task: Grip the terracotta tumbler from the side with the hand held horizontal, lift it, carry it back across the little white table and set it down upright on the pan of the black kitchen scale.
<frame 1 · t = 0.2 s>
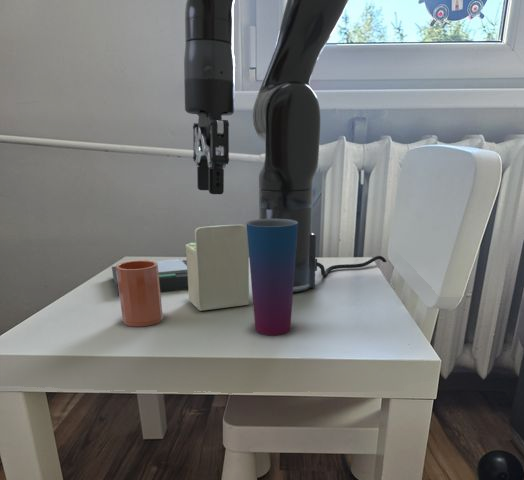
hand: (209, 192, 81), 17 cm above the table, tool pointing down, fingers open, 8 cm apart
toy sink: (219, 304, 83), on the table
tumbler: (143, 320, 76), on the table
scale: (155, 282, 95), on the table
cup: (272, 330, 71), on the table
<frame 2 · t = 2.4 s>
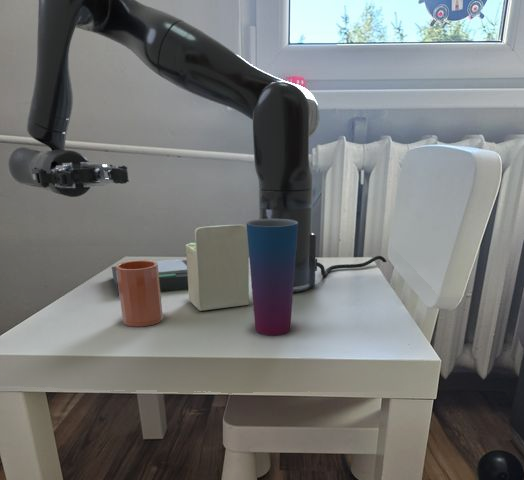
hand: (97, 177, 76), 20 cm above the table, tool horizontal, fingers open, 8 cm apart
nothing on the table moved.
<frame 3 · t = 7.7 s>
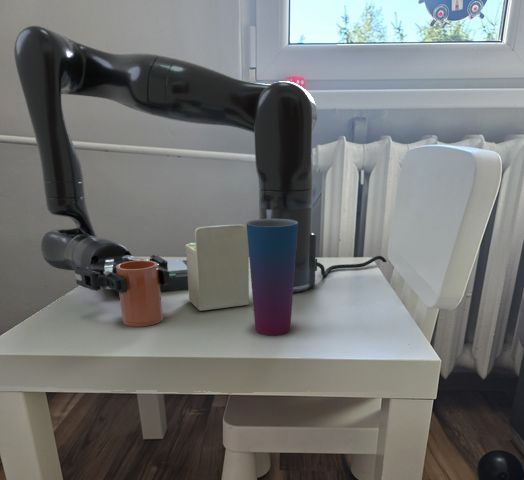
hand: (145, 281, 71), 7 cm above the table, tool horizontal, fingers closed on tumbler, 6 cm apart
tumbler: (143, 319, 76), on the table, touching gripper
everything else where it was.
when the fingers open (10 cm above the table, at t = 15.6 s): tumbler stays where it is, resting on scale.
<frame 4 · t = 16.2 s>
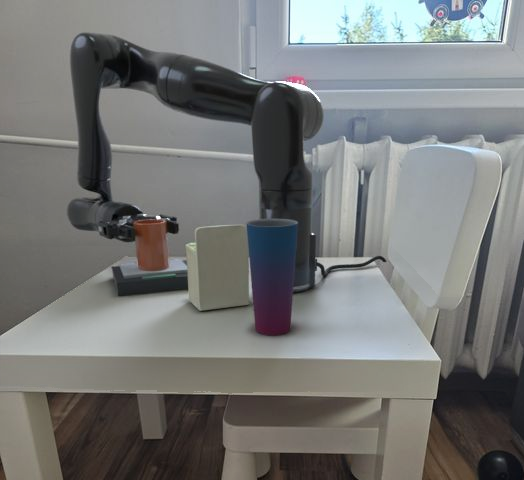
hand: (155, 230, 90), 10 cm above the table, tool horizontal, fingers open, 8 cm apart
tumbler: (154, 267, 94), point 3 cm above the table, touching scale
everything else where it was.
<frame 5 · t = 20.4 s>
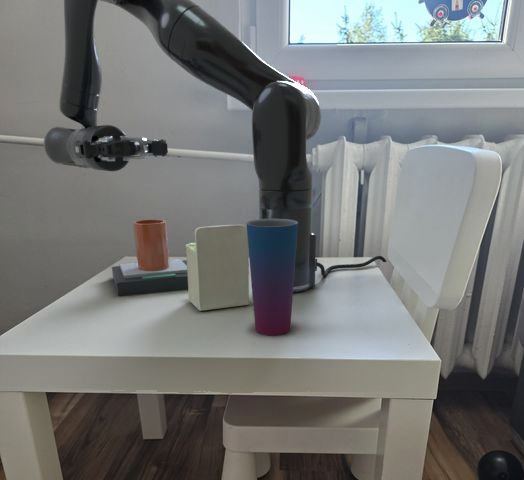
hand: (140, 148, 78), 24 cm above the table, tool horizontal, fingers open, 8 cm apart
nothing on the table moved.
at the end: tumbler inside the target area on the scale (0.8 cm from its centre), point 3.0 cm above the scale's base; tumbler tilted 0°; the gripper is holding nothing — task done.
